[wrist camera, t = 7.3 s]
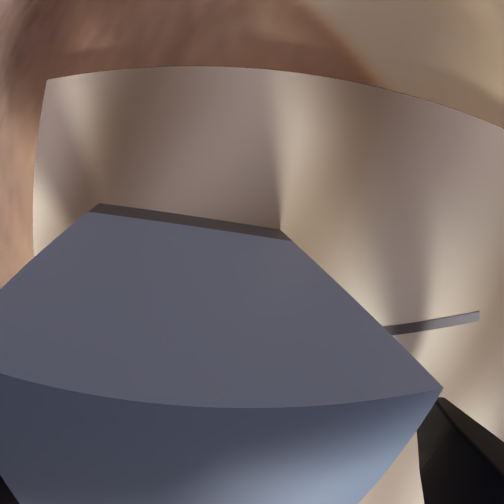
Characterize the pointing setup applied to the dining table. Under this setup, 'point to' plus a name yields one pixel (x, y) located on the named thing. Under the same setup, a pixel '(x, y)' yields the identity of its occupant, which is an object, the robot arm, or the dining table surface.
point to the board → (308, 199)
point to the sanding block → (195, 370)
